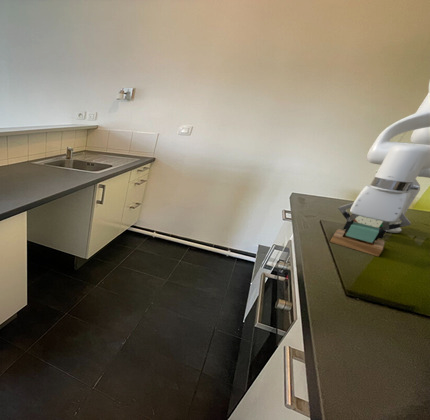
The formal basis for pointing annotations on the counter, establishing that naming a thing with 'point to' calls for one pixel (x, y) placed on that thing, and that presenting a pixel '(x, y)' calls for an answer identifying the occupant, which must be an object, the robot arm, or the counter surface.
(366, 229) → the green pad
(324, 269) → the counter surface
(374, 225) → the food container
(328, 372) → the counter surface
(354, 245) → the recessed wooden tray
